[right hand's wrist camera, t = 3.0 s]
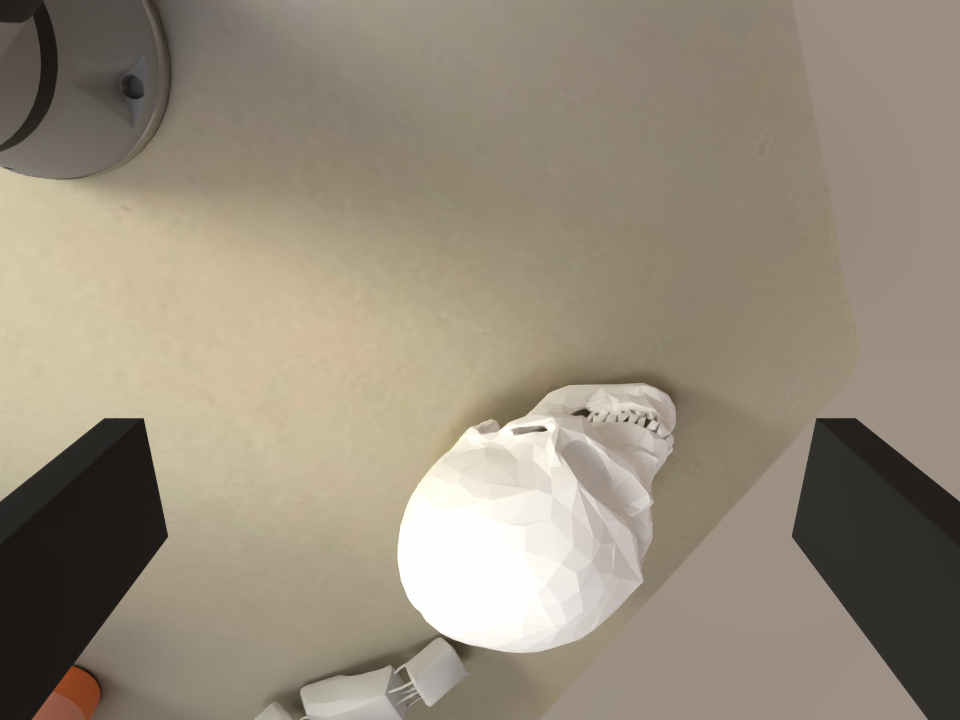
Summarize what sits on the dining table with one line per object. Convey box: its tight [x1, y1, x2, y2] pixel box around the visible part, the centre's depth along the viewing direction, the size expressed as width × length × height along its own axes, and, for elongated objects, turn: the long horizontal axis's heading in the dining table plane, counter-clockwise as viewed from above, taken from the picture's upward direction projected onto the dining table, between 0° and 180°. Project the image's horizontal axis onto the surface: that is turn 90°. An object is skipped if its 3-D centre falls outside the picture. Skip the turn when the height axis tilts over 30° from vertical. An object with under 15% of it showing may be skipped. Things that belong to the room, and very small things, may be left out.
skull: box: [398, 383, 676, 653], centre depth 43 cm, size 13×22×16 cm, turn 126°
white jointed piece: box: [255, 637, 468, 720], centre depth 56 cm, size 20×4×7 cm, turn 115°
